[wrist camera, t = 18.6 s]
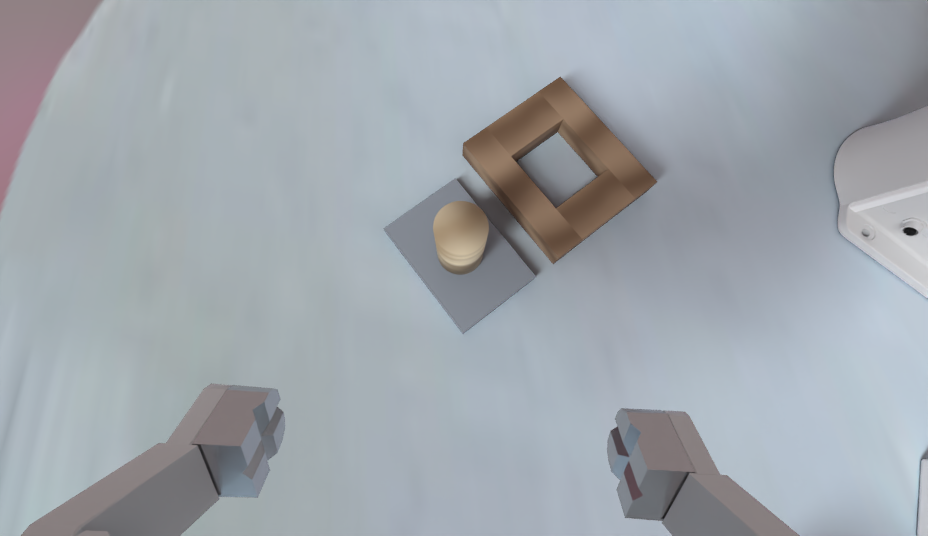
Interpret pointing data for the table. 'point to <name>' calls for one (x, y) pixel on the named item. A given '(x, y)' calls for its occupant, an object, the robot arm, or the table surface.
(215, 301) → the table surface
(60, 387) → the table surface
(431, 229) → the slate mat
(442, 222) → the tan domed cylinder
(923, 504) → the medicine bottle
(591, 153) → the well board
